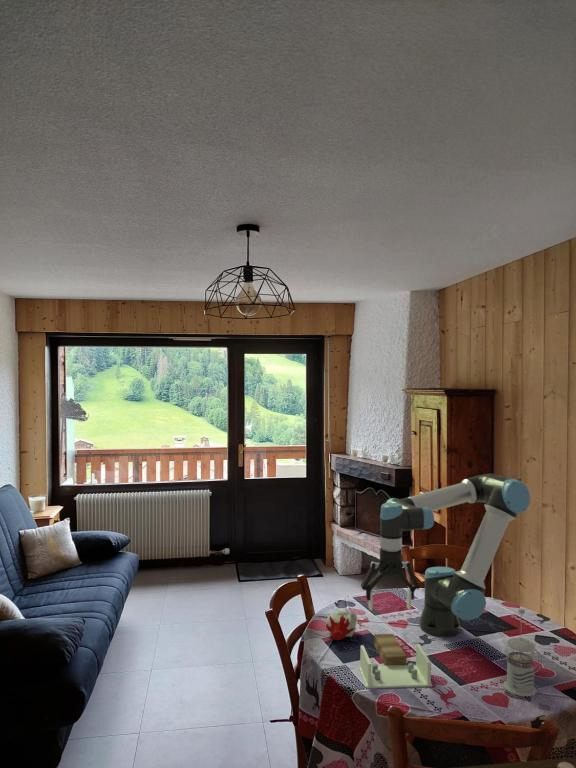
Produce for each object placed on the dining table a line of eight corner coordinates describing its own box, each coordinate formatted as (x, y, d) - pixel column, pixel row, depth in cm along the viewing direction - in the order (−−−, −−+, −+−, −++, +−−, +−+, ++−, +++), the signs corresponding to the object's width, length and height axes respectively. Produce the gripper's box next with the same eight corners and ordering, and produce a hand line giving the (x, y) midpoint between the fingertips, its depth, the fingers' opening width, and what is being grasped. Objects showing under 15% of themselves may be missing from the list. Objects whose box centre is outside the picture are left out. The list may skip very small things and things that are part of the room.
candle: (357, 627, 213) (353, 651, 198) (328, 624, 215) (322, 647, 200) (357, 606, 211) (354, 628, 197) (328, 603, 214) (322, 624, 199)
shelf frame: (420, 666, 186) (420, 644, 186) (432, 686, 174) (432, 662, 174) (358, 668, 184) (359, 645, 184) (366, 688, 172) (366, 664, 172)
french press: (497, 679, 178) (499, 602, 178) (532, 678, 179) (533, 601, 179) (512, 697, 168) (514, 615, 168) (549, 695, 169) (550, 615, 169)
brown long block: (373, 645, 201) (374, 634, 201) (392, 644, 202) (392, 633, 201) (385, 668, 185) (385, 656, 185) (405, 667, 186) (406, 656, 186)
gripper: (422, 544, 197) (421, 603, 198) (353, 545, 196) (352, 604, 196) (429, 551, 190) (428, 612, 190) (357, 552, 188) (356, 613, 188)
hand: (389, 608), depth 193 cm, fingers open, 13 cm apart
